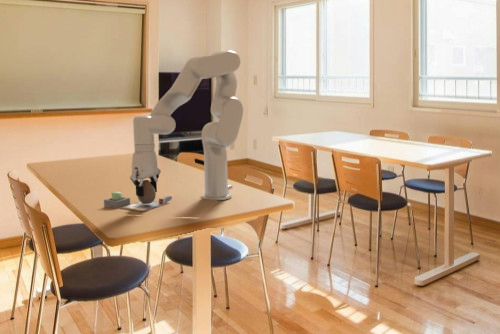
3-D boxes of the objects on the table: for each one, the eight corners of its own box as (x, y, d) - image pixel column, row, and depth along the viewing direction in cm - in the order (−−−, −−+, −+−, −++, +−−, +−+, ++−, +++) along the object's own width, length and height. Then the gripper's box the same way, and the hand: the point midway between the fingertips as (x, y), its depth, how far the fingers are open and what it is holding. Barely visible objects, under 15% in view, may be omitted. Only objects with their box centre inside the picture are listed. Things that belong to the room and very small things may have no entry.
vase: (138, 205, 190) (137, 182, 188) (137, 201, 196) (136, 179, 195) (156, 204, 192) (155, 181, 190) (155, 200, 198) (154, 178, 197)
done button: (117, 200, 199) (116, 191, 199) (124, 201, 197) (123, 192, 197) (110, 202, 196) (109, 193, 196) (117, 203, 194) (116, 194, 194)
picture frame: (146, 201, 205) (145, 199, 204) (168, 204, 198) (168, 202, 198) (119, 209, 192) (119, 207, 192) (142, 213, 186) (142, 211, 186)
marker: (168, 199, 207) (168, 195, 207) (171, 199, 207) (172, 195, 207) (158, 203, 197) (159, 198, 197) (163, 203, 197) (163, 199, 197)
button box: (117, 203, 202) (117, 196, 201) (130, 205, 198) (129, 198, 198) (104, 207, 196) (103, 199, 195) (117, 209, 192) (116, 201, 192)
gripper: (152, 145, 200) (154, 188, 203) (120, 150, 185) (123, 197, 188) (167, 146, 196) (168, 190, 199) (135, 151, 181) (138, 199, 184)
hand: (146, 193), depth 193 cm, fingers closed on vase, 6 cm apart
